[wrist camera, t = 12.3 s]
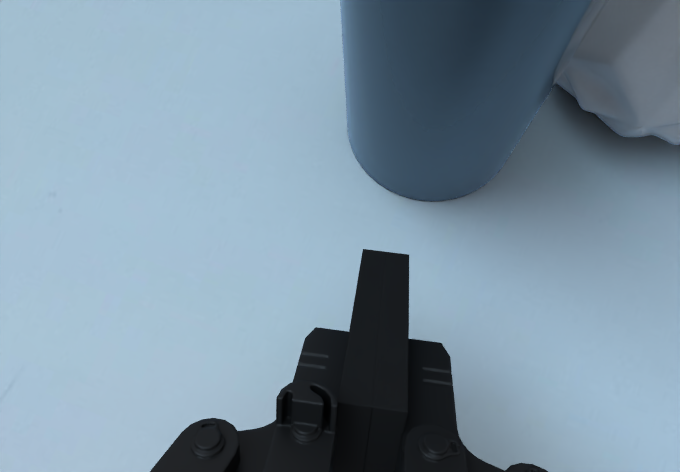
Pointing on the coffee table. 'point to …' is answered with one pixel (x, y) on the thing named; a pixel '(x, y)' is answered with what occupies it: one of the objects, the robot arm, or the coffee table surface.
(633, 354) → the coffee table surface
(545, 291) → the coffee table surface
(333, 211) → the coffee table surface
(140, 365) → the coffee table surface
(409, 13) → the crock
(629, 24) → the vase
